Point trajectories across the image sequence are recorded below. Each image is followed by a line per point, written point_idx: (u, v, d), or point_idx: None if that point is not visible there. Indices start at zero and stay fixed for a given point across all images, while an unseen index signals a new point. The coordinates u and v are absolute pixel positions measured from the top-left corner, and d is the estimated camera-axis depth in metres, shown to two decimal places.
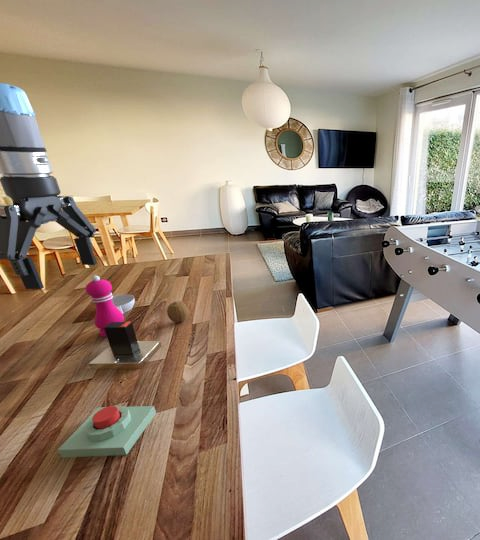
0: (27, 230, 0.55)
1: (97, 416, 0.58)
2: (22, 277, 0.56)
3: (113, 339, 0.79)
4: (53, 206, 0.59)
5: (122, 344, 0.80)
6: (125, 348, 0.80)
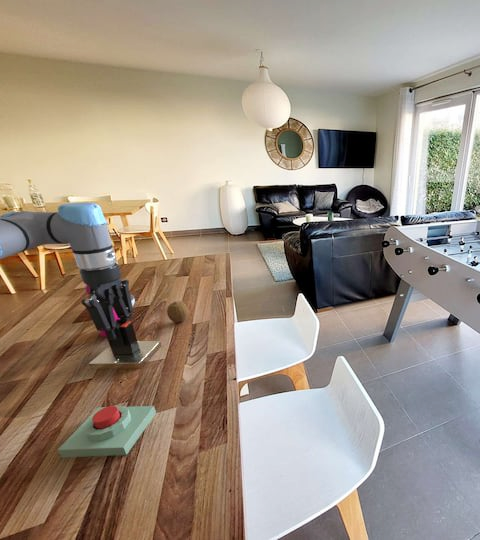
0: (108, 309, 0.74)
1: (97, 416, 0.58)
2: (112, 339, 0.78)
3: None
4: (116, 285, 0.76)
5: None
6: (125, 348, 0.80)
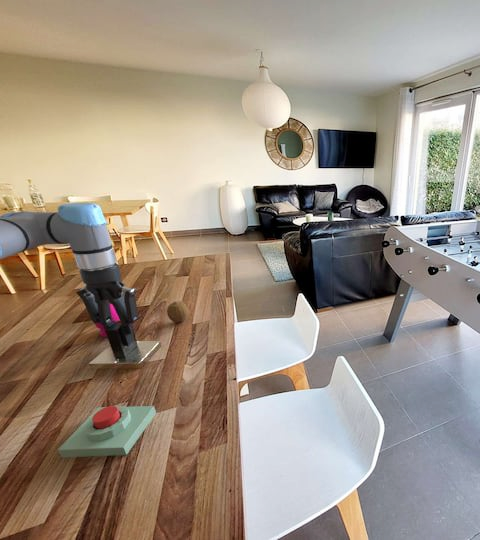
0: (124, 303, 0.77)
1: (97, 416, 0.58)
2: (127, 337, 0.79)
3: (123, 339, 0.79)
4: None
5: None
6: (132, 343, 0.82)
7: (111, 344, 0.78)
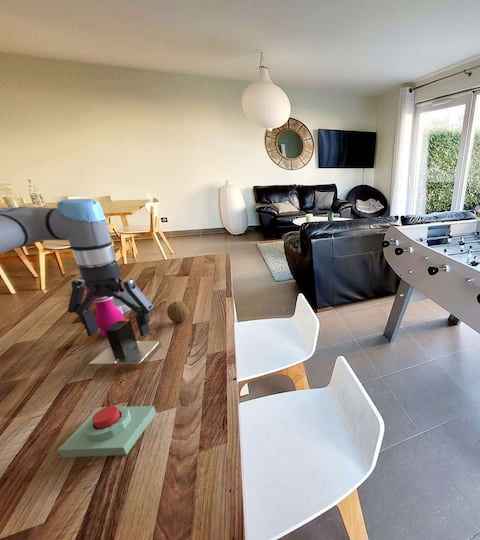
0: (130, 295, 0.77)
1: (97, 416, 0.58)
2: (142, 327, 0.78)
3: (123, 339, 0.79)
4: None
5: (130, 340, 0.82)
6: (132, 343, 0.82)
7: (111, 344, 0.78)
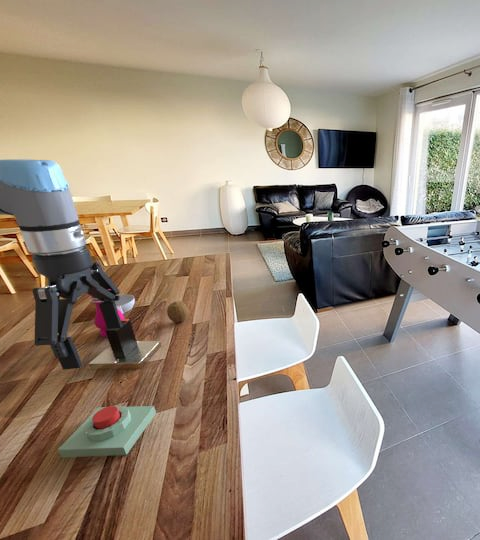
0: (65, 309, 0.52)
1: (97, 416, 0.58)
2: (60, 358, 0.52)
3: (123, 339, 0.79)
4: (86, 277, 0.56)
5: (130, 340, 0.82)
6: (132, 343, 0.82)
7: (111, 344, 0.78)
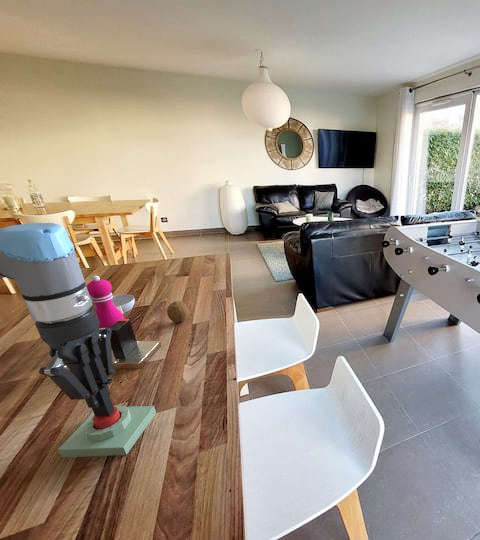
0: (83, 372, 0.52)
1: (97, 417, 0.58)
2: None
3: (123, 339, 0.79)
4: (92, 337, 0.53)
5: (130, 340, 0.82)
6: (132, 343, 0.82)
7: (111, 344, 0.78)
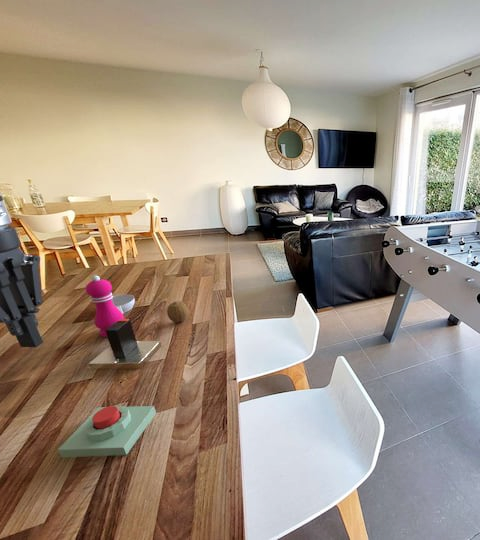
0: (1, 293, 0.50)
1: (97, 416, 0.58)
2: (17, 335, 0.55)
3: (123, 339, 0.79)
4: (13, 259, 0.51)
5: (130, 340, 0.82)
6: (132, 343, 0.82)
7: (111, 344, 0.78)
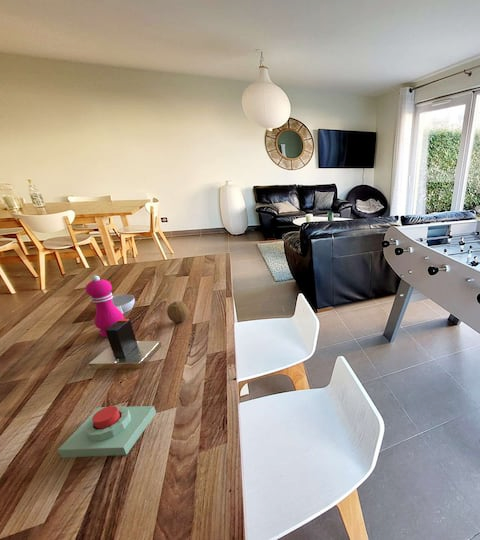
0: None
1: (97, 416, 0.58)
2: None
3: (123, 339, 0.79)
4: None
5: (130, 340, 0.82)
6: (132, 343, 0.82)
7: (111, 344, 0.78)
